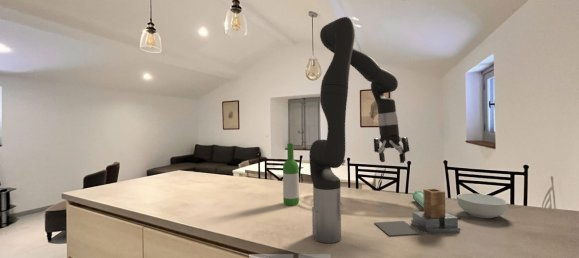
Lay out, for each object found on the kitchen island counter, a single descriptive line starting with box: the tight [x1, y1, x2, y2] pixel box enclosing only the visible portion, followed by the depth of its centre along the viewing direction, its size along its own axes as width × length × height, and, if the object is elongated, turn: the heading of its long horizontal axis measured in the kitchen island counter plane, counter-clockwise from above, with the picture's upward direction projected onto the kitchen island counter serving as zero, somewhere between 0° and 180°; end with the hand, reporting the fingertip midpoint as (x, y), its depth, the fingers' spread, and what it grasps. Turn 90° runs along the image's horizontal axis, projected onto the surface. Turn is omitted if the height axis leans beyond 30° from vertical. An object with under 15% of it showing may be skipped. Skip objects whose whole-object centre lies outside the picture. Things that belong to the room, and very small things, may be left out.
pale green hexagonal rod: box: [412, 190, 424, 209], centre depth 116 cm, size 6×6×25 cm
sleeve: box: [422, 188, 446, 218], centre depth 94 cm, size 5×5×9 cm
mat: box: [374, 220, 423, 237], centre depth 94 cm, size 12×12×1 cm
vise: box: [410, 211, 462, 235], centre depth 95 cm, size 16×10×12 cm, turn 96°
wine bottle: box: [282, 142, 300, 206], centre depth 127 cm, size 8×8×30 cm
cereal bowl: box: [456, 192, 509, 219], centre depth 107 cm, size 17×17×7 cm
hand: (392, 162), depth 108 cm, fingers open, 8 cm apart
